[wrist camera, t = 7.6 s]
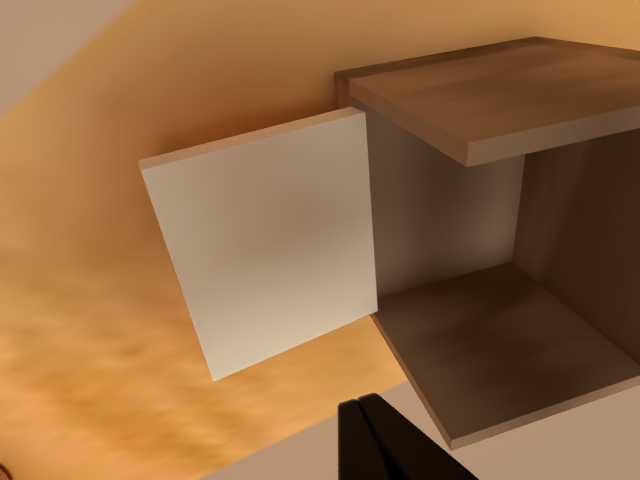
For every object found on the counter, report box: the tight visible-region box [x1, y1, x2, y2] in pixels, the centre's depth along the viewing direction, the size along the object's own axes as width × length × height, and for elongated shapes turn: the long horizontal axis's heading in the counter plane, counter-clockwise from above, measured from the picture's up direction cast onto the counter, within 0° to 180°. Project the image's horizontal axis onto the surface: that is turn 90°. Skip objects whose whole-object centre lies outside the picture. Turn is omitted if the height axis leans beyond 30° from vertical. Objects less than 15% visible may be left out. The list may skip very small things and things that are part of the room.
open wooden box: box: [335, 37, 640, 451], centre depth 15 cm, size 8×10×8 cm
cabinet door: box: [137, 107, 378, 382], centre depth 15 cm, size 1×8×7 cm
